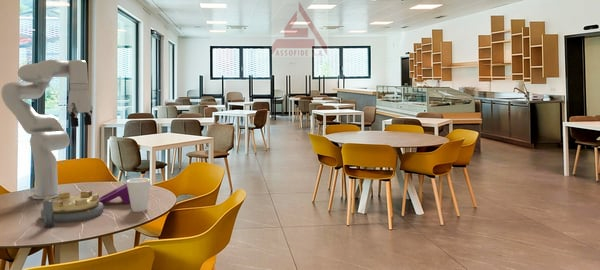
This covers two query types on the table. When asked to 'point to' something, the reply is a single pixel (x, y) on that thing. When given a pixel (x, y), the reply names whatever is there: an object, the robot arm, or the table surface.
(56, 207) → the brass lugged disc
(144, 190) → the foam cup
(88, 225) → the table surface
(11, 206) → the table surface
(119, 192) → the mounting bracket
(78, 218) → the grey round plate
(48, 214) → the pin
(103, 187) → the table surface
